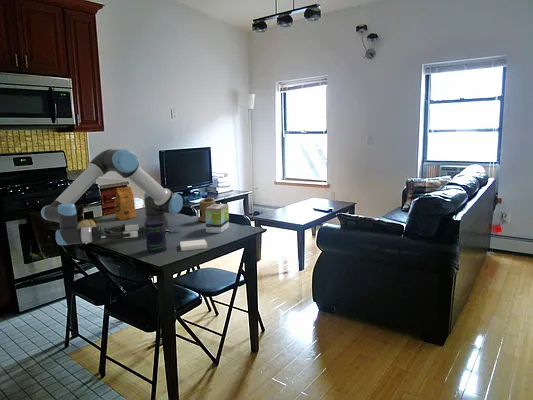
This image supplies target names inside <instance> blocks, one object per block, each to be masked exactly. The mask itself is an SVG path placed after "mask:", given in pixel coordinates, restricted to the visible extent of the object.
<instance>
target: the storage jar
mask: <svg viewBox="0 0 533 400" xmlns="http://www.w3.org/2000/svg"><path fill="white" fill-rule="evenodd" d="M144 223H145V229H144V230H145V236H146V241H145V243H146V244H145V245H146V252H147V253H148V254H161V253H164V252H167V250H168V248H167V245H168V244H167V239H166V228H165V221H164V220H149V221H146V222H145V221H144Z"/></svg>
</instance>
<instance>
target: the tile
mask: <svg viewBox="0 0 533 400" xmlns="http://www.w3.org/2000/svg"><path fill="white" fill-rule="evenodd" d="M179 246H180V251H181V252H183V251H185V252H186V251H193V250H194V251H195V250H203V249H208V242H207V241H206V240H205V238H204V239H195V240H184V241H180V242H179Z"/></svg>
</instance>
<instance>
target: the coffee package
mask: <svg viewBox="0 0 533 400" xmlns="http://www.w3.org/2000/svg"><path fill="white" fill-rule="evenodd" d="M114 214H115V218H118V219H117V220H119V219H125V220H131V219H134V218H136V216H137V215H136V205H135V197H134V193H133V191H132V187H131V186H130V185H129V186H125V187H116V196H115V197H114ZM130 218H131V219H130Z"/></svg>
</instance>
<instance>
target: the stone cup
mask: <svg viewBox="0 0 533 400" xmlns="http://www.w3.org/2000/svg"><path fill="white" fill-rule="evenodd" d="M213 204H216V200H215V199H214V198H213V197H206V198H203V199H201V200H200V201H199V210H200V213H201V216H198V217H197V221H199V222H206V212H205V208H207V207H209V206H211V205H213Z"/></svg>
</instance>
